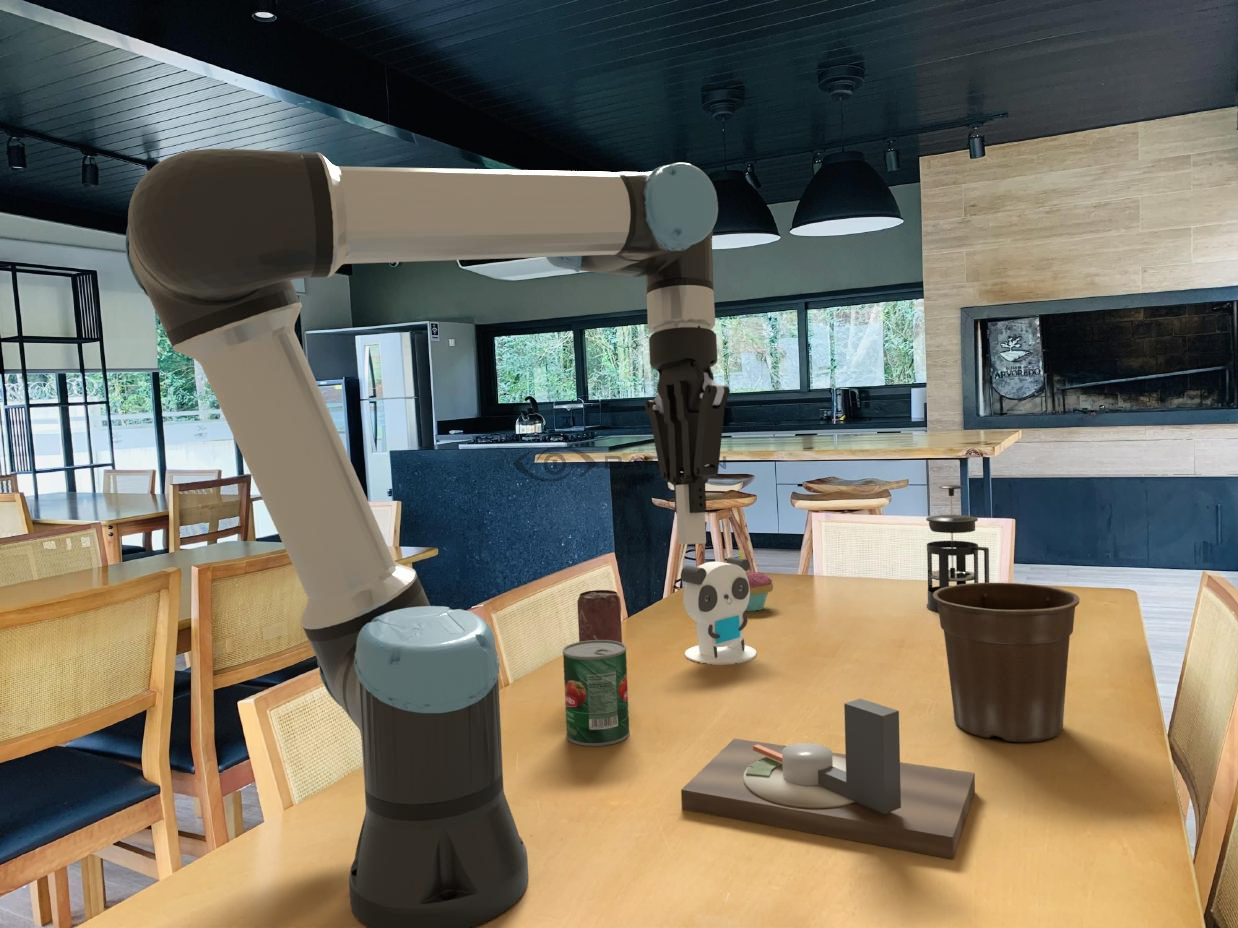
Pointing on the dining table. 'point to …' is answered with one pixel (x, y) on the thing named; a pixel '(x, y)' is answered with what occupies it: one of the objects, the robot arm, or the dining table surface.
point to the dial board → (834, 801)
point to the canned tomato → (596, 692)
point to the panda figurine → (718, 610)
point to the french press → (952, 551)
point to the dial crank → (853, 758)
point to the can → (599, 616)
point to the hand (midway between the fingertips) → (692, 543)
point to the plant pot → (1007, 657)
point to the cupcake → (757, 588)
